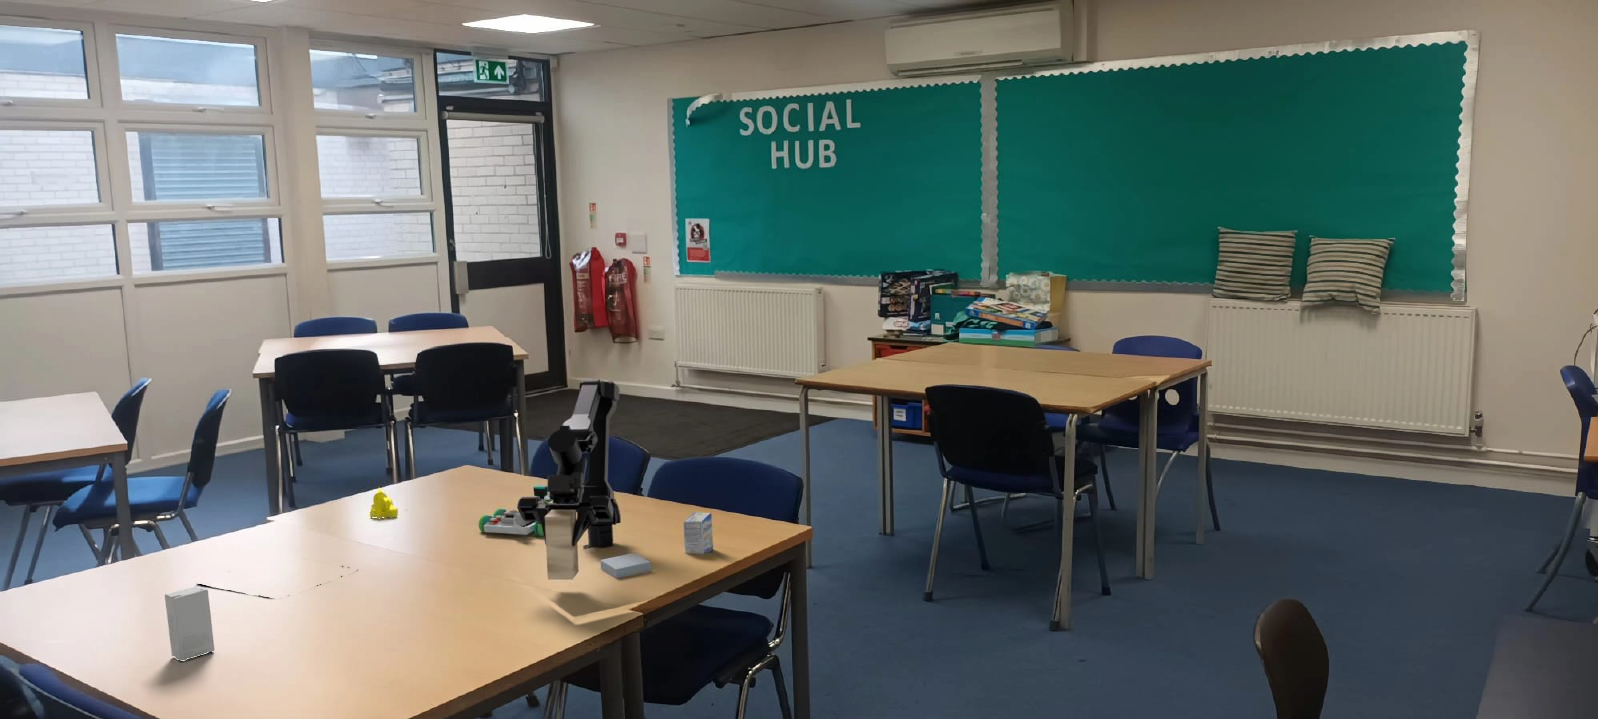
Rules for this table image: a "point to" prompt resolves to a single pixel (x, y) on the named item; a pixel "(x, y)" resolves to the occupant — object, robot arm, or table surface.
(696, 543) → the medicine box
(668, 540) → the table surface
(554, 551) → the tall beech block
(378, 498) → the yellow lumpy cone
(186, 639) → the skincare box
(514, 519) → the robot kit
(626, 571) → the tower top slab
